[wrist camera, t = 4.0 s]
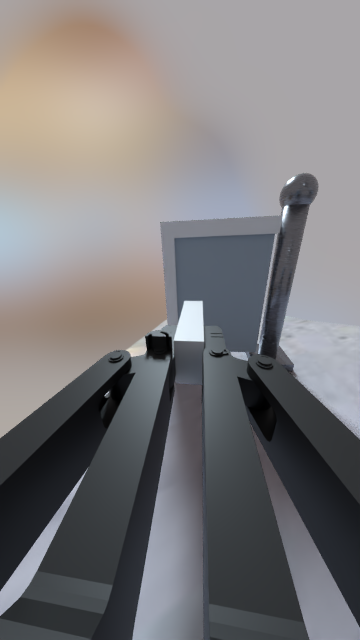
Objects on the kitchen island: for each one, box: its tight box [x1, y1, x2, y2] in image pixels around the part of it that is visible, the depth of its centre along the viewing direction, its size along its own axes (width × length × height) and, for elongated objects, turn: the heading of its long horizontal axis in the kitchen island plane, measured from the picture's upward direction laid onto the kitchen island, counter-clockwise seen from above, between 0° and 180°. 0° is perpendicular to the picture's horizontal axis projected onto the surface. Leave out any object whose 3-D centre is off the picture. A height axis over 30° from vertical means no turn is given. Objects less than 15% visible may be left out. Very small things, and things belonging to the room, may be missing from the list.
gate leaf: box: [160, 215, 283, 352], centre depth 22 cm, size 12×2×17 cm, turn 84°
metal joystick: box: [246, 173, 318, 371], centre depth 21 cm, size 5×5×22 cm
